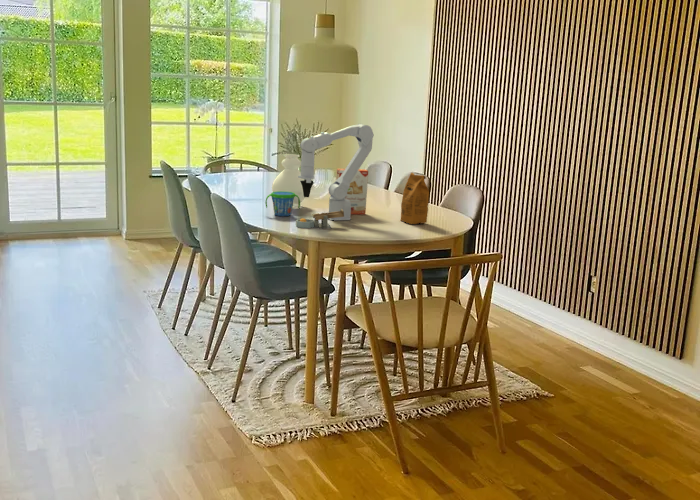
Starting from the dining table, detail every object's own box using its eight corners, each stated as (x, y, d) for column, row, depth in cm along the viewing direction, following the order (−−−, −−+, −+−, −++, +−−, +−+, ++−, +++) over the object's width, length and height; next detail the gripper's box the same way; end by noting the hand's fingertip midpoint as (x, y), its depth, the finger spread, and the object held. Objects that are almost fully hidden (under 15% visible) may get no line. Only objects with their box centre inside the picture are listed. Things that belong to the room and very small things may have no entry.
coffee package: (416, 219, 344) (419, 171, 340) (429, 224, 333) (433, 175, 328) (397, 220, 340) (400, 172, 336) (409, 225, 329) (413, 175, 324)
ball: (298, 222, 317) (305, 224, 318) (298, 225, 314) (305, 227, 315) (300, 216, 316) (307, 218, 316) (300, 219, 313) (307, 221, 314)
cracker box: (337, 214, 346) (339, 169, 342) (334, 212, 352) (336, 168, 347) (366, 214, 350) (368, 170, 345) (362, 212, 356) (364, 168, 351)
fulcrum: (328, 224, 322) (329, 212, 321) (331, 228, 313) (331, 216, 312) (313, 224, 321) (313, 212, 320) (315, 228, 312) (316, 216, 311)
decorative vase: (303, 211, 351) (304, 157, 346) (266, 208, 355) (268, 155, 349) (312, 205, 368) (314, 154, 363) (277, 202, 372) (279, 152, 366)
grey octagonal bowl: (312, 224, 320) (312, 219, 320) (314, 228, 313) (314, 222, 312) (295, 224, 319) (295, 218, 318) (296, 227, 312) (297, 222, 311)
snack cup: (265, 216, 332) (265, 194, 330) (265, 212, 343) (265, 190, 340) (300, 217, 334) (300, 195, 332) (299, 213, 344) (300, 191, 342)
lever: (340, 212, 326) (339, 206, 326) (344, 217, 315) (343, 211, 314) (311, 215, 325) (311, 209, 324) (314, 221, 313) (314, 214, 312)
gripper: (296, 163, 333) (295, 194, 336) (299, 167, 319) (298, 199, 322) (312, 164, 334) (311, 194, 337) (316, 168, 320) (315, 199, 323)
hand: (306, 197), depth 329 cm, fingers closed
